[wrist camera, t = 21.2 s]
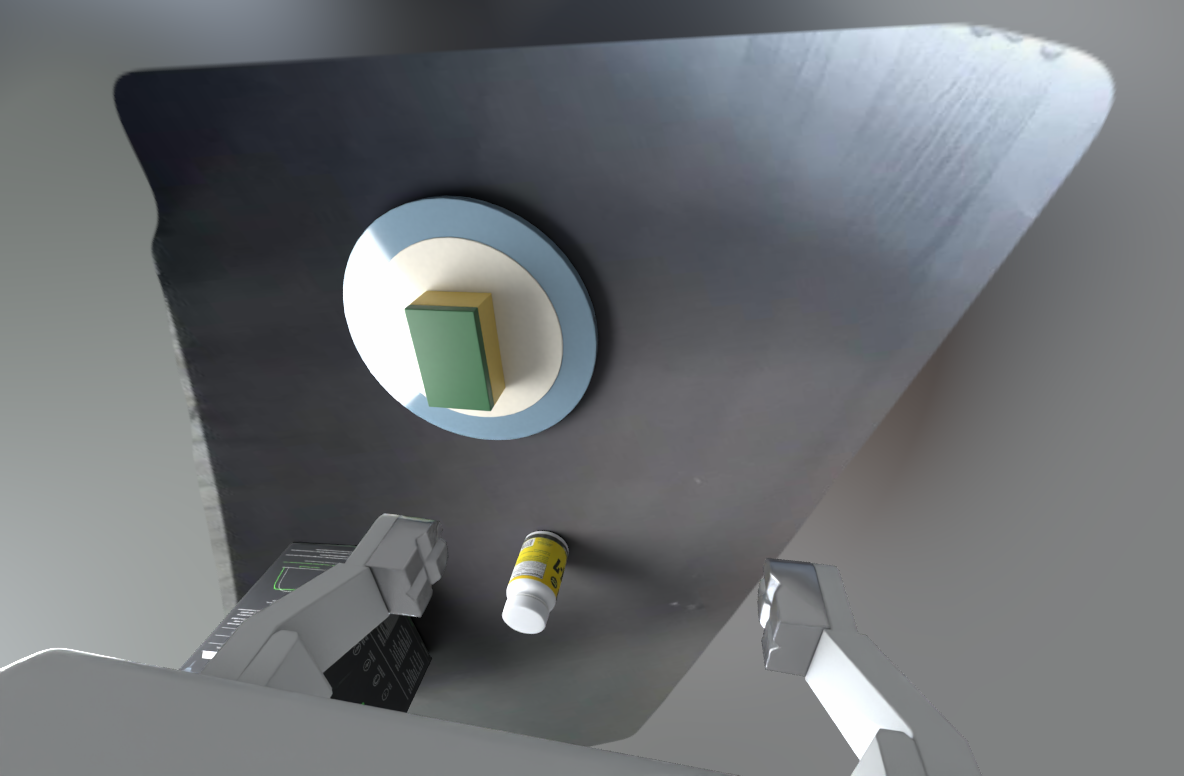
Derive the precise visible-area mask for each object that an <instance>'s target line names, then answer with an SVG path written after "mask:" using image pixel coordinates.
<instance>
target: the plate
mask: <svg viewBox="0 0 1184 776" xmlns="http://www.w3.org/2000/svg"><path fill="white" fill-rule="evenodd" d="M426 291H448V292H477V293H491V294H492V301H493V308H494V314H495V321H496V328H497V334H498V341H499V348H500V354H501V361H502V368H503V374H504V381H505V389H504V391H503V393H502V394H501V396H500V398H499V399H498V401H497V402H496V404H495V405H494V407H493V409H492V410H491V411H478V410H465V409H452V408H439V407H429V405H428V401H427V398H426V394H425V390H424V386H423V382H422V378H421V374H420V370H419V366H418V362H417V358H416V355H415V351H414V347H413V343H412V339H411V335H410V331H409V327H408V323H407V319H406V315H405V312H404V308H406V307H407V306H408V305H410V303H412V302H413V301H414V300H415V299H417V298H418V297H419V296H421V295H422V294H423V293H424V292H426ZM343 302H344V309H345V316H346V320H347V324H348V327H349V331H350V334H351V336H352V339H353V341H354V344H355V346H356V348H357V350H358V352H359V354H360V356H361V357H362V359H363V361H364V362H365V364H366V365H367V367H368V368H369V370H370V371H371V373H372V374H373V375H374V377H375V378H376V379H377V380H378V381H379V383H380V384H381V385H382V386H383V387H384V388H385V389H386V390H387V391H388V392H389V393H390V394H391V395H392V396H393V397H394V398H395V399H396V400H397V401H399V402H400V403H401V404H402V405H403V406H405V407H406V408H407V409H409V410H410V411H412V412H413V413H415V414H416V415H417V416H419V417H421V418H423V419H424V420H426V421H428V422H430V423H432V424H434V425H436V426H438V427H440V428H443V429H445V430H448V431H451V432H453V433H456V434H460V435H464V436H468V437H472V438H479V439H486V440H508V439H517V438H522V437H527V436H530V435H533V434H536V433H539V432H541V431H543V430H545V429H547V428H549V427H551V426H553V425H555V424H556V423H557V422H559V421H560V420H562V419H563V418H564V417H565V416H567V415H568V414H569V413H570V412H571V411H572V410H573V409H574V408H575V406H576V405H577V404H578V402H579V401H580V400H581V398H582V397H583V395H584V393H585V391H586V389H587V388H588V386H589V383H590V380H591V377H592V374H593V372H594V369H595V364H596V359H597V354H598V330H597V321H596V317H595V313H594V309H593V305H592V302H591V299H590V297H589V294H588V292H587V289H586V287H585V285H584V283H583V281H582V280H581V278H580V276H579V274H578V272H577V271H576V269H575V268H574V266H573V265H572V264H571V262H570V261H569V259H568V258H567V257H566V255H565V254H564V253H563V252H562V251H561V250H560V249H559V248H558V247H557V245H556V244H555V243H554V242H553V241H552V240H551V239H549V238H548V237H547V236H546V235H545V234H544V233H543V232H541V231H540V230H539V229H538V228H537V227H535V226H534V225H532V224H531V223H529V222H528V221H526V220H525V219H523V218H522V217H520V216H518V215H516V214H514V213H512V212H510V211H508V210H506V209H504V208H502V207H499V206H497V205H494V204H491V203H488V202H485V201H482V200H477V199H472V198H468V197H459V196H435V197H426V198H422V199H418V200H414V201H410V202H408V203H406V204H403V205H401V206H399V207H396V208H394V209H392V210H390V211H388V212H387V213H385V214H384V215H382V216H381V217H379V218H377V219H376V220H375V221H374V222H373V223H372V224H371V225H370V226H369V227H368V228H367V229H366V230H365V231H364V233H363V234H362V235H361V237H360V238H359V239H358V241H357V242H356V244H355V246H354V248H353V250H352V252H351V254H350V257H349V260H348V263H347V266H346V270H345V276H344V283H343Z"/></svg>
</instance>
